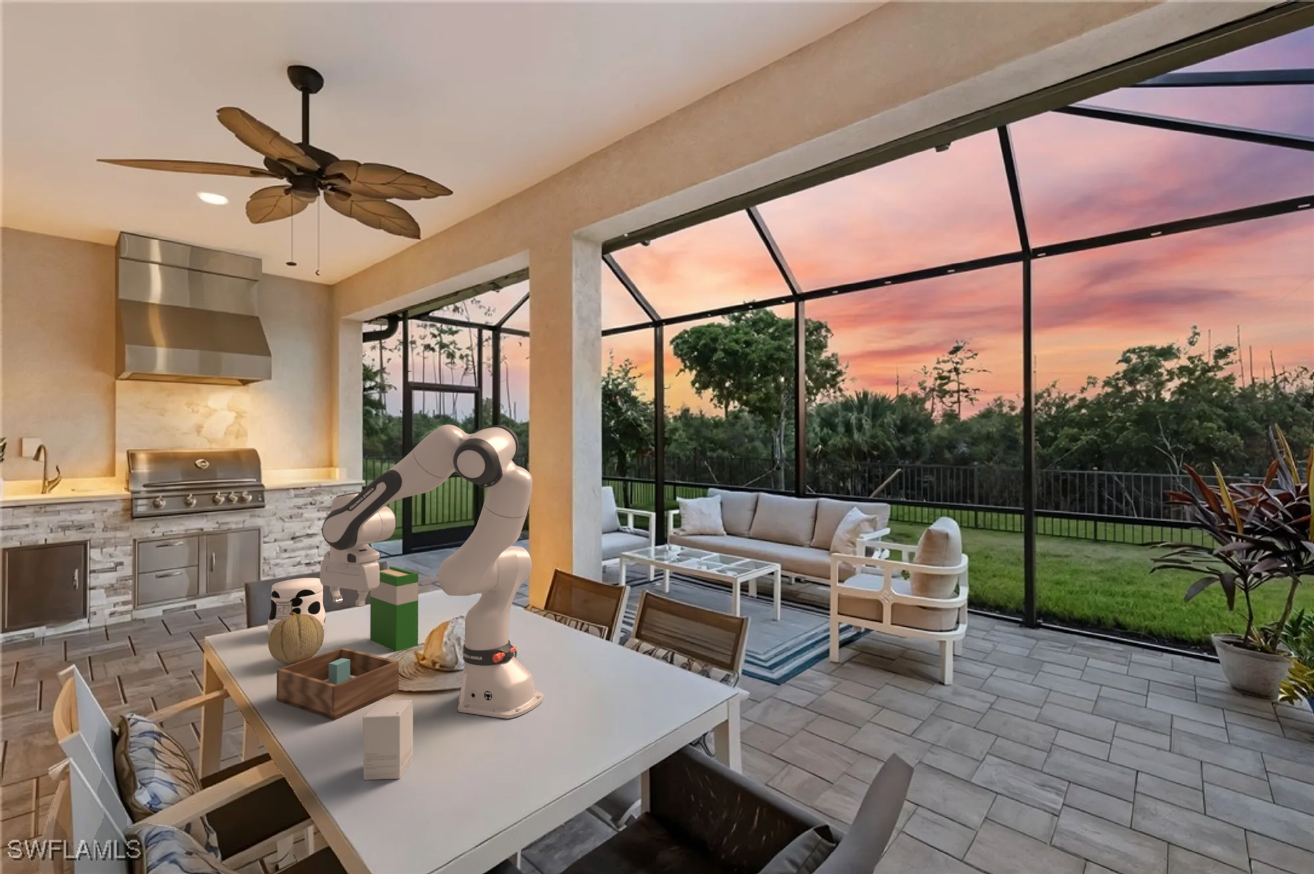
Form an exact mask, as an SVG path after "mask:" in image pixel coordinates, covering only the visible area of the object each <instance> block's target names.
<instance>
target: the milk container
mask: <svg viewBox="0 0 1314 874" xmlns="http://www.w3.org/2000/svg"><path fill="white" fill-rule="evenodd" d="M323 591H324V585H322V584H321V582H320V577H319V578H317V577H301V578H292V579H287V580H283V581H279V582H275V583H274V584H272V585H271V594H270V595H271V596H270V597H271V598H270V613H269V616H268V619H267V630H268V633H269V634H270V632H271V631H272V629H273V628H274V626H275V625H276V624H277V623H278V622H279V621H281V620H282V619H284V618H286V617H289V616H292V615H289V614H290V612H294V613H296V614H308V615H312V616H314V617H315V618H316V619H317V620H319V621H320V623H321V625H322V626H323V627H324V626H325V625H326V614H327V613H326V610H325V608H324V603H323V601H324V600H323V599H324V592H323Z"/></svg>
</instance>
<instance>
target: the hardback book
mask: <svg viewBox="0 0 1314 874" xmlns="http://www.w3.org/2000/svg"><path fill="white" fill-rule="evenodd" d="M369 593H370V596H369V597H370V601H369V602H370V606H369V609H370V612H369V613H370V614H369V616H370V618H369V619H370V621H369V636H370V638H369V640H370V641H371V642H372V643H375V644H377V645H380V646H382V647H384V648H387V649H389V650H392V651H393V652H395V653H397V652H401V651H404V650H407V649H410V648H415V647H417V646H419V573H418V572H416V571H410V570H407V569H403V568H399V567H395V566H389V568H387V569H382V570H380V582H379V586H378V588H377V589H376V590H372V591H369Z"/></svg>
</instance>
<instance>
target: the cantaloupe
mask: <svg viewBox="0 0 1314 874" xmlns="http://www.w3.org/2000/svg"><path fill="white" fill-rule="evenodd" d="M289 615H292V616H289V617H286V618H284V619H282V620H281V621H279V622H278V623H277V624H276V625H275V626H274V628H273V629H272V631H271V632H270V633H269V636H268V640H267V646H268V651H269V653H270V655H271V656H272V658H273V659H274V660H276V661H278V662H279V663H282V664H287V665H292V664H295V663H298V662H301V661H304V660H307V659H309V658H312V657H314V656H316V654H317V653H318V652H319V650H320V649H321V647H322V645H323V643H324V638H325V631H324V626H322V625H321V623H320V621H319V620H317V619H316V618H315V617H314V616H312V615H308V614H296V613H294V612H290V614H289Z"/></svg>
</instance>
